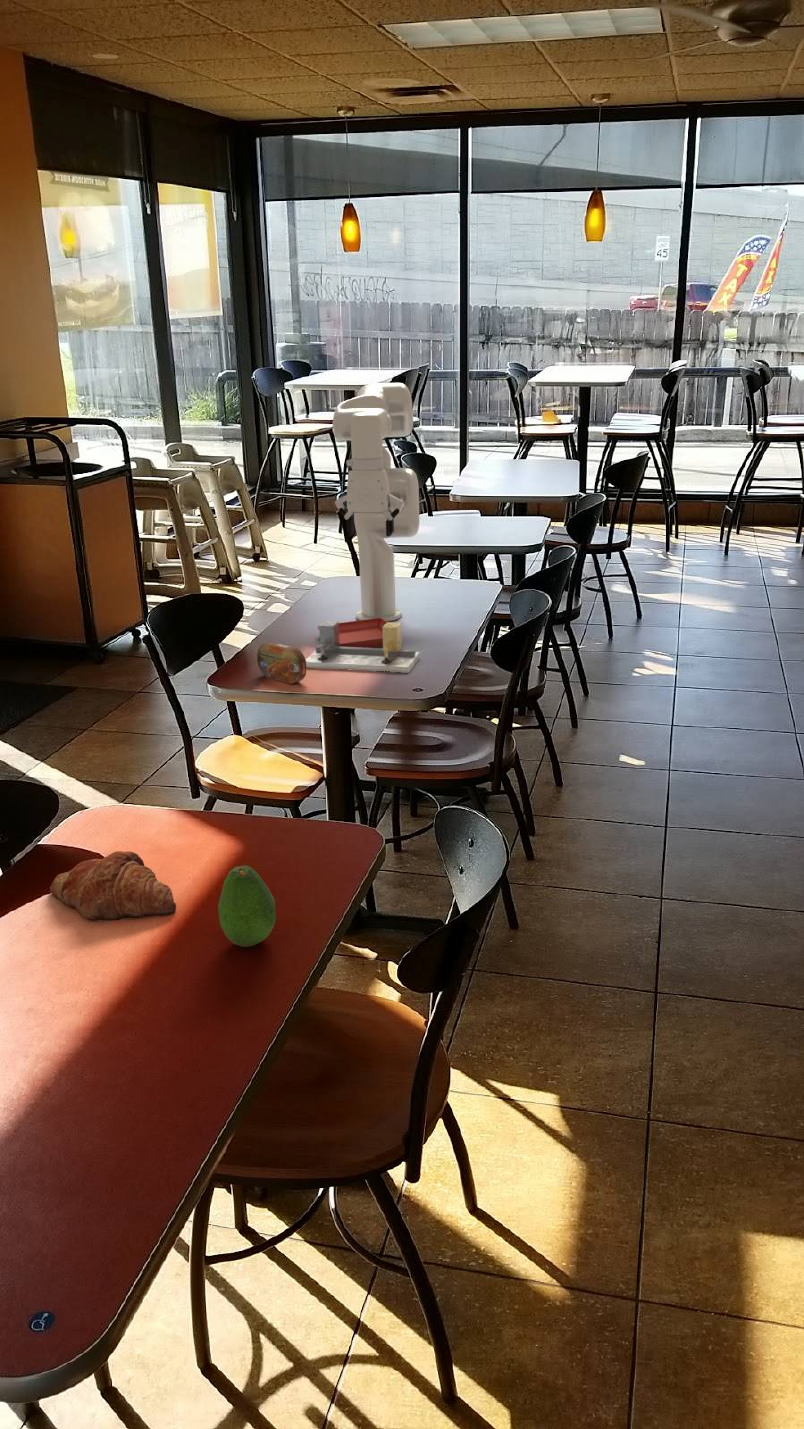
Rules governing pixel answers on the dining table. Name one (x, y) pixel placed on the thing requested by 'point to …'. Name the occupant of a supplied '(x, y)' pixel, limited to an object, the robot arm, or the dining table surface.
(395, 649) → the tan stemmed block
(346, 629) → the plant saucer
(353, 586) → the dining table surface
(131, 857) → the pastry
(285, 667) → the tin
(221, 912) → the avocado
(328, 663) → the hole plate
